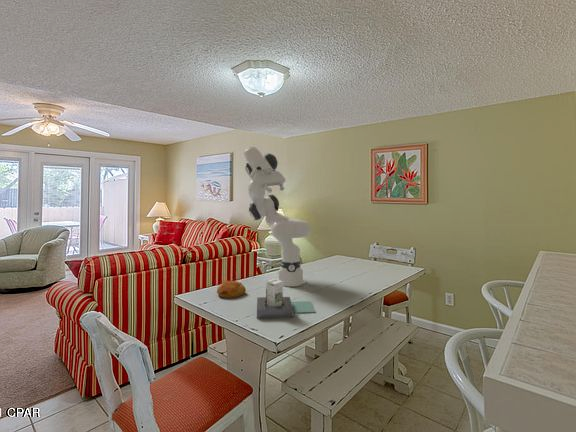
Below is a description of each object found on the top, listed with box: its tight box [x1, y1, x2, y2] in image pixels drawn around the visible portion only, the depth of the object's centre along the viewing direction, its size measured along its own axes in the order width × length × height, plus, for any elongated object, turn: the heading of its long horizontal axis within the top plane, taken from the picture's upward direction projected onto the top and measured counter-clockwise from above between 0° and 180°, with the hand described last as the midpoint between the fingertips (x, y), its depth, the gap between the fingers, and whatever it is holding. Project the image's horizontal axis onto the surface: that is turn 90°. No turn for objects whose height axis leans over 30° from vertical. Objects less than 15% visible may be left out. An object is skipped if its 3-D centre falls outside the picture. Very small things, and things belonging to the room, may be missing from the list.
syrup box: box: [265, 278, 284, 306], centre depth 143 cm, size 6×6×14 cm
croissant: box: [216, 280, 247, 299], centre depth 167 cm, size 14×16×8 cm
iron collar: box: [256, 296, 294, 320], centre depth 143 cm, size 16×16×4 cm
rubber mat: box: [291, 300, 316, 314], centre depth 149 cm, size 14×10×1 cm
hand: (276, 190), depth 161 cm, fingers open, 8 cm apart
